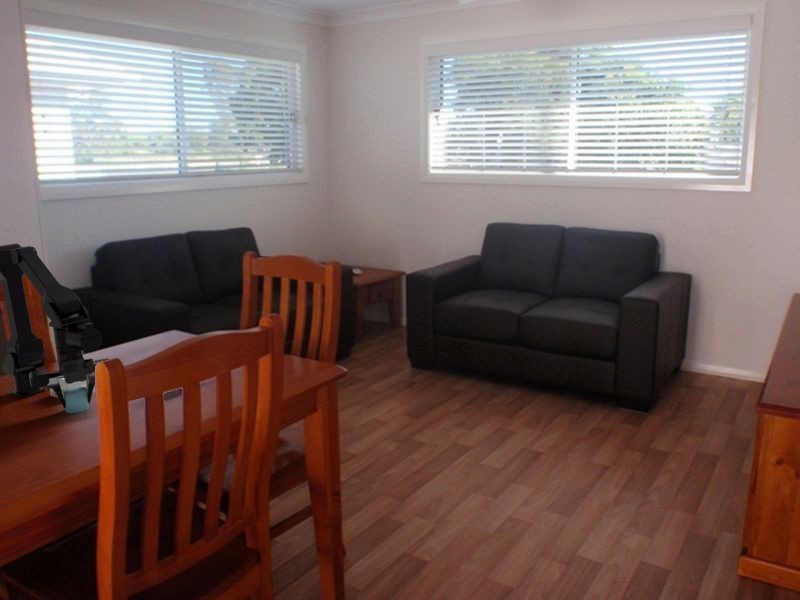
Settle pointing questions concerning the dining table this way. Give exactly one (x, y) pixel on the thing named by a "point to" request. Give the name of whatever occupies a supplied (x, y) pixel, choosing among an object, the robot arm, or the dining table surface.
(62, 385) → the top block
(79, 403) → the light teal cube
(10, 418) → the dining table surface
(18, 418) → the dining table surface
